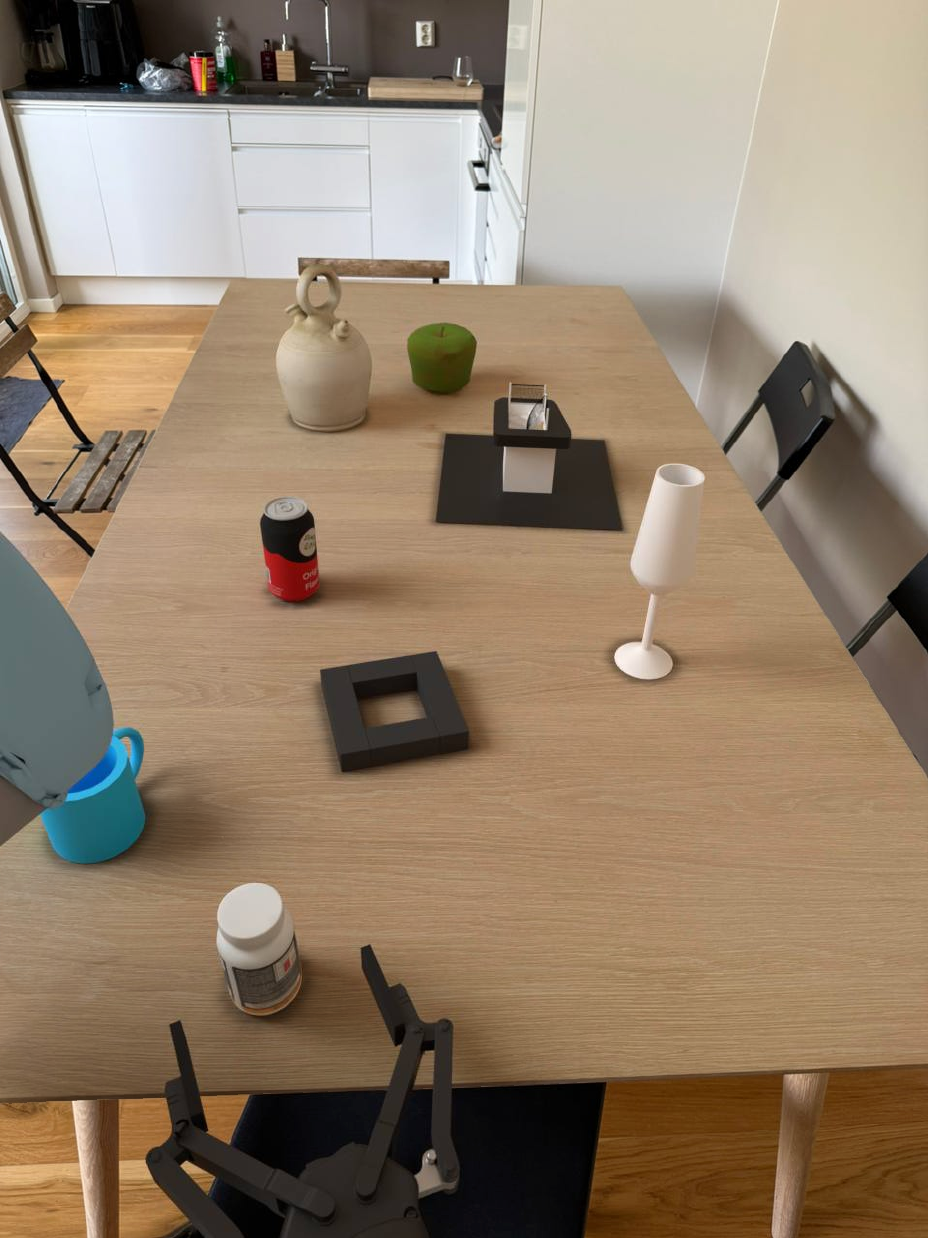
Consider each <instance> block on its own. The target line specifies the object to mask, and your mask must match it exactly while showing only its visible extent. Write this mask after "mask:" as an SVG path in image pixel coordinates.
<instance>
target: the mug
mask: <svg viewBox="0 0 928 1238" xmlns="http://www.w3.org/2000/svg"><path fill="white" fill-rule="evenodd" d="M123 738H128V739H129V741H130V746H131V747H130V748H131V751H130V757H129V753H128V751H127V748H126V745H125V744H124V742H122V741H121V740H122V739H123ZM144 743H145V741H144V738H143V737H142V734H141V733H140V731H139V730H137V729H134V728H133V727H130V726H126V727H118V728H116V729H113V736H112V741H111V744H110V747H109V749H108V751H107V753H106V754H105V756H104V757H103V759H102V760H101V761H100V762H99V763H98V764H97V765H96V766H95V767H94V768H93V769H92V770H91V771H89V772H88V773H87V774H86V775H85V776H84V777H83V778H81V779H80V780H79V781H78V782H77V783H76V784H75V785H74V786H72V787H71V788H70V789H69V790H68V792H67V798H66V801H65V802H64V803H63V804H61V805H60V806H58V807H57V808H55V809H54V810H51V809H49V808H47V809H46V810H45V811H43V812H42V813H41V814H40V815H39V816H40V818H41V821H42V823H43V826H44V828H45V829H44V830H45V831H46V834H47V836H48V838H49V841H50V843H51V846H52V849H53V850H54V851H55V852H56V854H57V855H58V856H59V857H60V858H62V859H64V860H66V861H68V862H70V863H76V864H83V865H85V864H94V863H101V862H104V861H107V860H109V859H112V858H115V857H117V856H119V855H120V854H122V853H124V852H125V851H126V850H128V849H129V848H130V847H131V846H132V845H133V844H134V843H135V842H136V841H137V840H138V839H139V837H140V836H141V834H142V832H143V830H144V828H145V824H146V823H145V822H146V813H145V810H144V806H143V802H142V799H141V795H140V792H139V789H138V786H137V785H138V784H137V782H136V779H137V777H138V775H139V773H140V770H141V767H142V763H143V761H144V753H145V744H144Z"/></svg>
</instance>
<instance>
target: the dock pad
mask: <svg viewBox="0 0 928 1238" xmlns="http://www.w3.org/2000/svg"><path fill="white" fill-rule="evenodd" d="M319 674H320V685H321V686H320V687H321V691H322V694H323V699H324V705H325V708H326V712H327V715H328V721H329V724H330V729H331V733H332V737H333V741H334V745H335V751H336V755H337V759H338V762H339V767H340V771H341V773H344V772H349V771H355V770H359V769H365V768H371V767H376V766H381V765H387V764H392V763H397V762H403V761H408V760H414V759H418V758H419V759H420V758H424V757H429V756H435V755H439V754H440V755H441V754H446V753H451V752H452V753H453V752H457V751H462V750H467V749H469V738H470V730H469V728H468V725H467V723H466V720H465V718H464V716H463V712H462V711H461V708H460V705H459V703H458V701H457V698H456V696H455V693H454V691H453V688H452V685H451V683H450V681H449V678H448V676H447V674H446V671H445V669H444V666H443V664H442V661H441V659H440V656H439V654H438V651H437V650H434V651H427V652H421V653H415V654H409V655H408V654H407V655H403V656H402V655H401V656H396V657H395V656H394V657H390V658H382V659H377V660H371V661H364V662H358V663H351V664H347V665H340V666H333V667H328V668H320V669H319ZM415 690H416V691H417V694H418V696H419V699H420V703H421V705H422V708H423V711H424V713H425V716H426V717H421V718H416V719H410V720H405V721H399V722H393V723H388V724H383V725H382V724H381V725H377V726H370V727H365V724H364V719H363V717H362V713H361V708H360V706H359V701H358V700H361V699H367V698H373V697H378V696H385V695H391V694H396V693H402V692H409V691H415Z"/></svg>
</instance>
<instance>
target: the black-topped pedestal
mask: <svg viewBox="0 0 928 1238" xmlns="http://www.w3.org/2000/svg"><path fill="white" fill-rule="evenodd" d="M508 391H509V392H508V396H507V397H504V396H503V397H500V398H498V399H495V400H494V401H493V421H492V422H493V423H492V427H493V428H492V435H489V434H488V435H487V434H466V433H464V434H463V433H445V436H444V445H443V454H442V462H441V470H440V471H441V472H440V478H439V479H440V480H439V490H438V498H437V506H436V514H435V523H451V524H473V525H474V524H477V525H499V526H520V527H521V526H522V527H543V528H545V527H546V528H549V527H550V528H565V529H570V528H571V529H590V530H613V531H615V530H616V531H623V527H622V523H621V517H620V513H619V508H618V503H617V498H616V493H615V488H614V482H613V478H612V471H611V468H610V463H609V457H608V452H607V448H606V442H605V440H604V439H583V438H572V435H573V434H572V430H571V427H570V426H569V424H568V422H567V421H566V419H565V417H564V415H563V413H562V411H561V410H560V408H559V406H558V404H557V403H556V402H555V400H552V399H548V393H547V384H525V383H512V382H509V388H508ZM541 423H542V426H543V429H537V428H538V427H539V425H540V424H541Z"/></svg>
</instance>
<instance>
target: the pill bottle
mask: <svg viewBox="0 0 928 1238" xmlns="http://www.w3.org/2000/svg"><path fill="white" fill-rule="evenodd" d="M216 914H217V915H216V919H217V925H218V927H217V932H216V948H217V952H218V955H219V959H220V963H221V967H222V971H223V975H224V979H225V983H226V987H227V990H228V994H229V997H230V999H231V1001H232V1002H233V1003H234V1005H235V1006H236V1007H237V1009H239V1010H240V1011H242V1012H243V1013H246V1014H249V1015H251V1016H268V1015H269V1016H270V1015H272V1014H275V1013H277V1012H279V1011H282V1010H283V1009H285V1008H286V1007H287V1006H288V1005H290V1003H291V1002H293V1000H295V998H296V996H297V994H298V993H299V991H300V988H301V985H302V980H303V969H302V964H301V958H300V952H299V948H298V947H299V946H298V941H297V936H296V930H295V925H294V921H293V918H292V915H291V914H290V912H289V910H288V909H287V908H286V907H285V905H284V901H283V898H282V895H281V894H280V892H278V890H276V888H274V887H272V886H271V885H269V884H266V883H263V882H249V883H244V884H241V885H238V886H237V887H235V888H233V889H232V890H231V891H229V892H228V893H227V894H226V895H225V896H224V897H223V899H222V900H221V902H220V903H219V905H218V909H217V913H216Z"/></svg>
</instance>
